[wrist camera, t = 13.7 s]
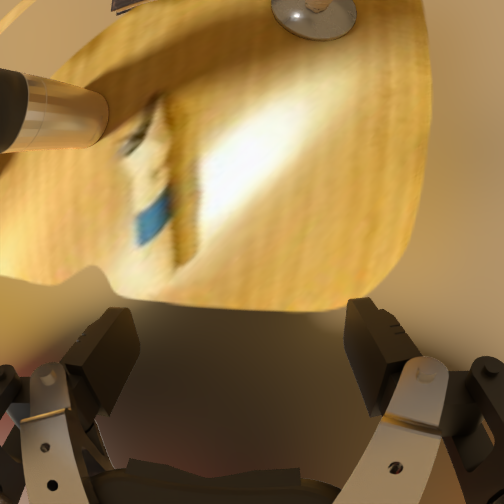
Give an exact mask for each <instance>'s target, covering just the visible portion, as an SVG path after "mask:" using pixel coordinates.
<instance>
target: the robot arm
mask: <svg viewBox="0 0 504 504" xmlns="http://www.w3.org/2000/svg"><path fill="white" fill-rule="evenodd" d="M108 116H109V110H108V105H107V102H106V100H105V98H104V97H103V96H102V95H101V94H99V93H97V92H94V91H91V90H88V89H84V88H81V87H78V86H74V85H71V84H67V83H63V82H59V81H56V80H52V79H48V78H43V77H39V76H34V75H30V74H25V73H20V72H16V71H10V70H6V69H1V68H0V153H10V152H20V151H33V150H51V149H81V148H87V147H89V146H91V145H93V144H94V143H95V142H97V141H98V139H99V138H100V137H101V136H102V134H103V132H104V131H105V128H106V126H107V122H108ZM343 339H344V349H345V352H346V354H347V357H348V360H349V362H350V365H351V368H352V370H353V373H354V375H355V378H356V380H357V383H358V386H359V389H360V391H361V394H362V397H363V399H364V402H365V405H366V408H367V410H368V413H369V416H370V417H374V416H379V415H382V419H381V421H380V423H379V425H378V427H377V429H376V431H375V433H374V435H373V437H372V439H371V441H370V443H369V445H368V447H367V449H366V451H365V452H364V454H363V456H362V458H361V459H360V461H359V463H358V465H357V466H356V468H355V470H354V471H353V473H352V475H351V476H350V478H349V479H348V481H347V483H346V484H345V486H344V487H343V489H340V488H338V487H335V486H333V485H331V484H328V483H325V482H321V481H318V480H313V479H307V478H300V469H299V468H290V469H276V470H254V471H249V472H245V473H239V474H234V475H229V476H223V477H216V478H205V477H201V476H198V475H195V474H192V473H189V472H186V471H183V470H180V469H177V468H174V467H171V466H169V465H164V464H158V463H152V462H146V461H141V460H136V459H131V458H130V459H129V462H128V465H127V468H121V469H115V468H114V467H113V465H112V463H111V461H110V459H109V456H108V453H107V451H106V448H105V445H104V442H103V440H102V437H101V434H100V431H99V428H98V425H97V423H96V421H95V420H94V419H95V417H96V415H102V416H107V417H110V414H111V412H112V410H113V408H114V406H115V404H116V402H117V400H118V397H119V396H120V394H121V392H122V389H123V387H124V385H125V383H126V381H127V379H128V377H129V375H130V373H131V371H132V369H133V367H134V365H135V364H136V361H137V360H138V357H139V355H140V341H139V337H138V334H137V331H136V328H135V324H134V321H133V318H132V314H131V312H130V310H129V309H128V308H124V307H110V308H108V309H107V310H106V311H105V313H104V314H103V315H102V316H101V317H100V319H98V320H97V321H95V322H94V323H92V324H91V325H89V326H88V327H87V329H86V330H85V331H84V332H83V333H82V336H80V337H79V338H78V340H77V342H75V343H74V344H73V346H72V347H71V348H70V349H69V351H68V352H67V353H66V354H65V356H64V357H63V358H62V360H61V361H60V362H59V363H56V362H51V363H46V364H43V365H41V366H40V367H38V368H37V369H36V370H35V371H34V372H33V373H32V375H31V377H19V376H18V374H17V373H16V371H15V369H14V367H13V366H11V365H1V366H0V420H1V418H2V416H3V415H4V413H5V412H7V414H8V415H9V416H10V418H11V419H12V420H13V422H14V423H15V425H14V427H13V428H12V430H11V432H10V434H9V435H8V437H7V439H6V441H5V443H4V445H3V446H2V447H1V446H0V504H18V503H19V500H20V497H21V495H22V492H23V490H24V487H25V485H26V488H27V494H28V499H29V503H30V504H418V503H419V501H420V498H421V496H422V493H423V491H424V488H425V486H426V483H427V480H428V478H429V475H430V472H431V469H432V467H433V463H434V460H435V457H436V454H437V451H438V447H439V444H440V440H441V437H442V439H443V441H444V444H445V446H446V448H447V451H448V453H449V456H450V458H451V461H452V464H453V466H454V469H455V472H456V475H457V478H458V480H459V483H460V486H461V489H462V492H463V495H464V498H465V502H466V504H504V363H502V362H501V361H500V360H498V359H496V358H494V357H490V356H482V357H479V358H477V359H476V360H475V361H474V362H473V364H472V366H471V368H470V370H469V371H448V370H447V368H446V367H445V365H444V364H443V363H441V362H440V361H438V360H436V359H434V358H431V357H424V356H422V354H421V353H420V351H419V350H418V349H417V347H416V346H415V344H414V343H413V341H412V340H411V339H410V337H409V336H408V334H407V333H405V330H404V329H403V327H402V326H400V323H399V322H398V321H397V319H396V318H395V317H394V315H392V314H390V313H389V312H387V311H386V310H384V309H380V310H378V308H377V307H376V306H375V304H374V303H373V301H372V300H371V299H370V298H369V297H365V298H356V299H349V300H348V303H347V310H346V319H345V328H344V337H343ZM484 418H485V420H486V422H487V424H488V426H489V428H490V430H491V431H492V433H493V435H494V439H495V444H494V446H493V444H492V442H491V440H490V438H489V436H488V434H487V432H486V430H485V428H484V426H483V425H482V423H481V422H482V421H483V420H484Z"/></svg>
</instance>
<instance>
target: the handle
mask: <svg viewBox="0 0 504 504" xmlns="http://www.w3.org/2000/svg"><path fill="white" fill-rule="evenodd" d="M332 1H333V0H305V7H306V8H307V9H310V10H312V11H313V12H315V13H319V12H320V11H323V10H324V11H325V10H326V9H327V8H328V7H329V5H330V3H331V2H332Z"/></svg>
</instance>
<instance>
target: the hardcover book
mask: <svg viewBox="0 0 504 504" xmlns="http://www.w3.org/2000/svg"><path fill="white" fill-rule="evenodd" d="M151 1H155V0H112V7H111V11H116V16H118V15H121V14H123V13H126V12H129V11H130V10H132V9H133V8H135V7H136V6H138V5H141V4H144V3H148V2H151Z"/></svg>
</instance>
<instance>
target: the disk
mask: <svg viewBox="0 0 504 504" xmlns="http://www.w3.org/2000/svg"><path fill="white" fill-rule="evenodd" d="M271 7H272V12H273V15H274V17H275V19H276V20H277V21H278V23H279V24H280V25H281V26H282V27H283V28H285V29H286V30H287V31H289V32H291V33H292V34H294V35H297V36H299V37H302V38H305V39H309V40H314V41H329V40H334V39H337V38H340V37H342V36H344V35H345V34H346V33H348V32H349V31H350V29H351V28H352V26H353V25H354V23H355V21H356V17H357V11H356V7H355V4H354V2H353V0H333V1H332V2H331V3H330V5H329V7H328V8H327V9H326V10H325V11H324V10H323V11H320V12H319V13H315V12H313V11H312V10H310V9H307V8H306V7H305V0H271Z"/></svg>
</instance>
